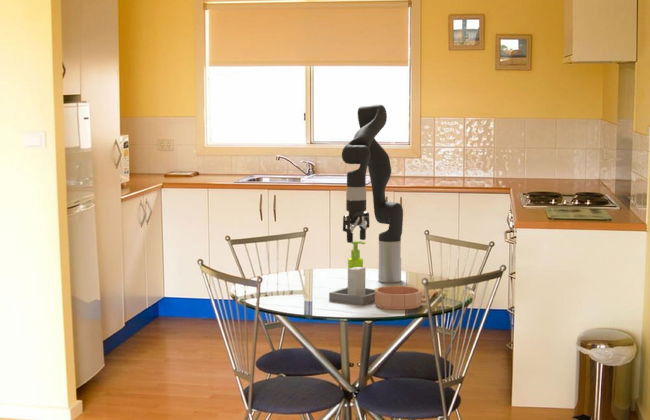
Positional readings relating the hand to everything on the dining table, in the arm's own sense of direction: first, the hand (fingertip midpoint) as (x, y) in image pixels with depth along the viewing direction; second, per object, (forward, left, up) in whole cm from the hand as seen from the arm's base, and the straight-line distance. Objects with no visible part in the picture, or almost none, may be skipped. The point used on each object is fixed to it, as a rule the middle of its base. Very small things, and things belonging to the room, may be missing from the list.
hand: (356, 241), depth 354 cm
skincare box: (0, 0, -23) cm, 23 cm away
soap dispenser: (-13, -8, -23) cm, 27 cm away
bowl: (0, +18, -22) cm, 29 cm away
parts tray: (0, 0, -22) cm, 22 cm away
